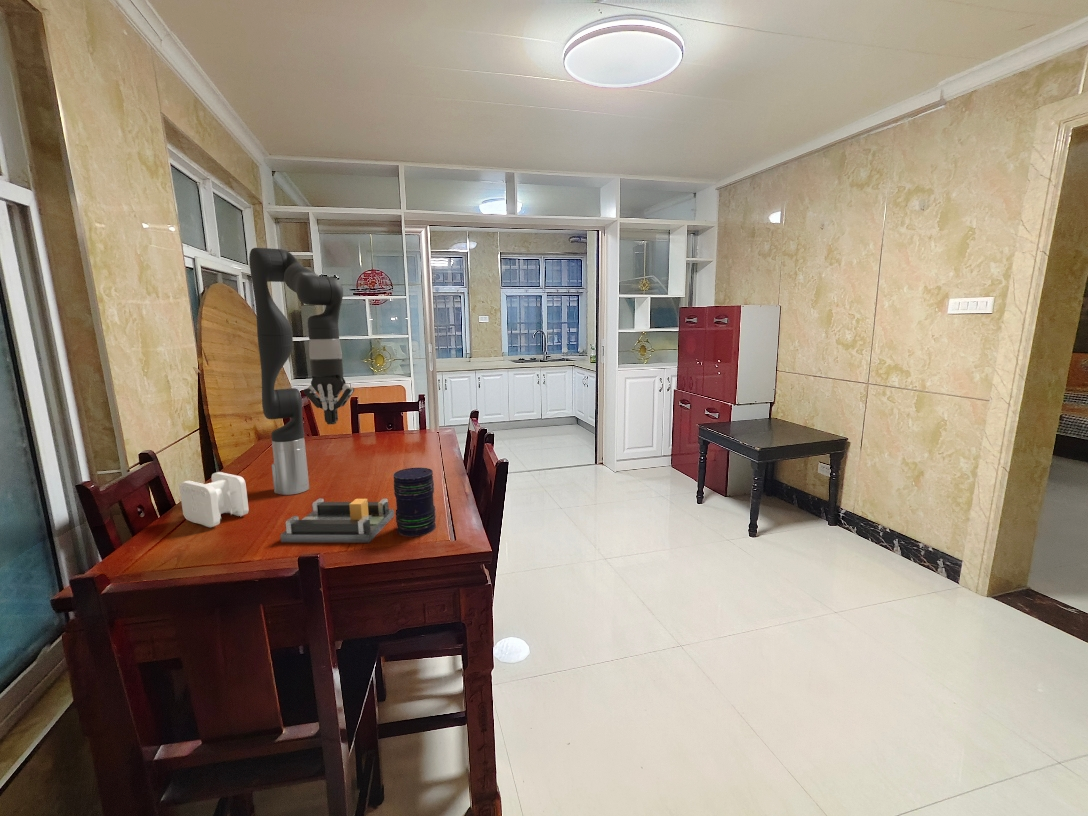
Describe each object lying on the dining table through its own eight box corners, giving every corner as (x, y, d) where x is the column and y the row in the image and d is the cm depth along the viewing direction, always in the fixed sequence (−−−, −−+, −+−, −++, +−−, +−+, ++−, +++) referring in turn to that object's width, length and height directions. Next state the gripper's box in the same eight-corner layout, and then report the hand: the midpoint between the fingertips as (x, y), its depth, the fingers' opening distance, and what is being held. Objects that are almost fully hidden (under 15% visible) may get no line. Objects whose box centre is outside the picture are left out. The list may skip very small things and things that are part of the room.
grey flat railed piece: (281, 542, 118) (278, 522, 117) (316, 515, 135) (315, 498, 134) (369, 542, 117) (367, 522, 116) (394, 515, 134) (392, 498, 133)
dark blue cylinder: (399, 539, 118) (395, 480, 116) (394, 525, 127) (390, 470, 125) (439, 532, 122) (436, 475, 120) (432, 518, 131) (429, 465, 129)
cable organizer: (252, 517, 135) (247, 477, 133) (212, 531, 126) (206, 488, 124) (221, 509, 142) (216, 470, 140) (181, 521, 133) (175, 481, 131)
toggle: (347, 523, 123) (346, 504, 122) (355, 517, 128) (353, 498, 127) (364, 523, 123) (363, 504, 122) (371, 517, 127) (370, 498, 126)
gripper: (292, 358, 119) (299, 427, 122) (344, 357, 119) (350, 426, 122) (308, 356, 127) (314, 421, 130) (357, 355, 126) (362, 421, 129)
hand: (331, 423), depth 126 cm, fingers closed
